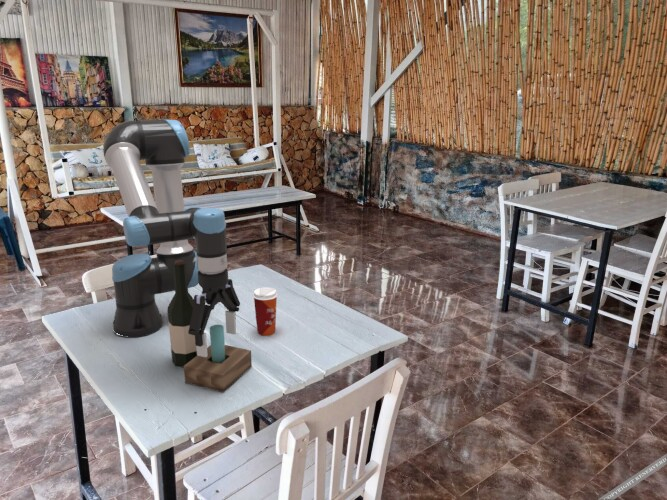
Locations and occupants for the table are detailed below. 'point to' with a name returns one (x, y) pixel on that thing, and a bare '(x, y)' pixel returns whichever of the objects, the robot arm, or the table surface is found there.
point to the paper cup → (265, 310)
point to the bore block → (218, 369)
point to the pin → (217, 343)
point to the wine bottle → (181, 318)
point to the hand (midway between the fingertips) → (217, 344)
